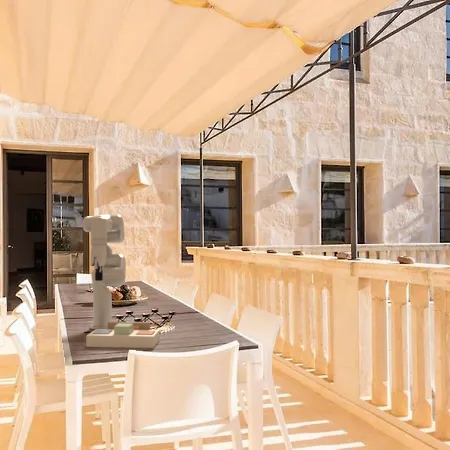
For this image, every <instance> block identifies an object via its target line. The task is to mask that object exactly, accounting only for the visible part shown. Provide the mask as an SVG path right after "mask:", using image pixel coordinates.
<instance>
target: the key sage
mask: <svg viewBox="0 0 450 450" xmlns="http://www.w3.org/2000/svg"><path fill="white" fill-rule="evenodd" d="M131 333H133V324H129V323H118V324H117V325H115V326H114V334H125V335H130V334H131Z"/></svg>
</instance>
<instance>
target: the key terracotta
mask: <svg viewBox="0 0 450 450" xmlns="http://www.w3.org/2000/svg"><path fill="white" fill-rule="evenodd" d="M154 333H155V331H143V330H140V331H139V332H138V333H136V335H153V334H154Z"/></svg>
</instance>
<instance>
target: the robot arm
mask: <svg viewBox="0 0 450 450" xmlns="http://www.w3.org/2000/svg"><path fill="white" fill-rule="evenodd" d="M82 229H83V231H84V232H86V233H90V246H91V249H90V267H94V269H93V270H92V271H91V283H92V291H93V292H92V293H93V294H92V297H93V298H92V303H93V304H92V307H93V308H92V309H93V311H92V312H93V313H92V314H93V315H92V321H93V322H92V324H91V325H89V327H90V330H91V329H92V330H96V329H108V322H113V315H112V314H113V312H112V311H113V310H112V309H113V305H112V303H113V300H112V298H113V297H112V296H113V295H112V292H111V290H110V288H109V286H122V285H124V284H125V282H126V274H127V273H126V272H127V271H126V270H127V268H126V267H127V265H126V264H127V263H126V258H125V255H123V254H120V253H113V249H112V248H111V247H110V246H109V245H108V244H116V243H117V244H118V243H119V244H120V243H123V242H124V240H125V224H124V219H123V217H122V215H120V214H99V215H91V216H90V215H89V216H85V217H84V218H83V219H82Z"/></svg>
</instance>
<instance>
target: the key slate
mask: <svg viewBox="0 0 450 450" xmlns="http://www.w3.org/2000/svg"><path fill="white" fill-rule="evenodd" d="M95 330H96V329H95ZM92 332H93V331H92ZM110 332H112V330H96V331H95V332H93V333H92V334H109V333H110Z"/></svg>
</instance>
